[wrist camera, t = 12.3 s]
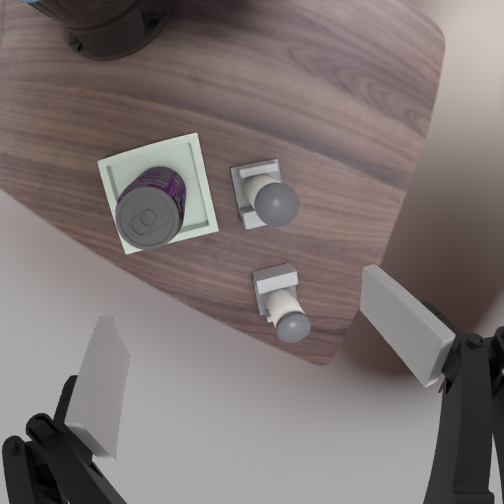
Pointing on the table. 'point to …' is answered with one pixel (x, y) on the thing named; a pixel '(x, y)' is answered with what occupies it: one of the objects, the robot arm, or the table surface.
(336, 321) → the table surface
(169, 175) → the beverage can
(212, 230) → the tray
